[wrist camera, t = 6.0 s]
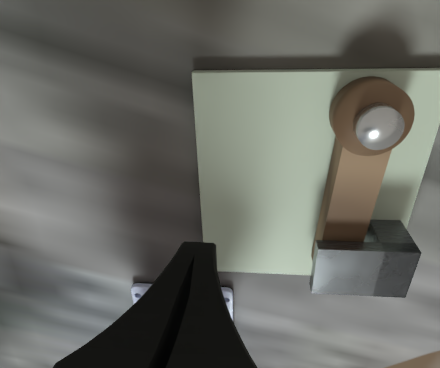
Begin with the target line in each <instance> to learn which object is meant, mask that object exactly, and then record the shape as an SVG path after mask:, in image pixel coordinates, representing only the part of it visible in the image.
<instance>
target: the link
mask: <svg viewBox="0 0 440 368" xmlns="http://www.w3.org/2000/svg"><path fill="white" fill-rule="evenodd" d="M376 102H382V103H386V104H389V105H390V106H392V107H393V108H394V109H395V110H396V111H397V112H399V113H400V114H401V116H402V117H403V119H404V124H405V126H404V131H403V134H402V136H401V137H400V139H399V140H398V141H397V142H396V143H395V144H393V145H392V146H390V147H388V148H386V149H382V150H372V149H368V148H366V147H365V146H363V145H362V144H361V142H360V141H359V139H358V138H357V136H356V135H355V133H354V131H353V122H354V119H355V117H356V115H357V113H358V112H359V111H360V110H361V109H362V108H364V107H365V106H367V105H369V104H372V103H376ZM414 116H415V111H414V105H413V102H412V100H411V99H410V97H409V96H408V94H407V93H405V92H404V91H403V90H402V89H400V88H399V87H397V86H396V85H394V84H393V83H392V82H390V81H388V80H387V79H384V78H381V77H376V76H367V77H362V78H358V79H356V80H354V81H352V82H350V83H348V84H347V85H345V86H344V87H343V88H342V89H341V90H340V91H339V92H338V93H337V95H336V96H335V97H334V99H333V101H332V103H331V106H330V110H329V122H330V125H331V128H332V130H333V132H334V133H335V135H336V138H335V143H334V147H333V152H332V157H331V162H330V167H329V171H328V176H327V181H326V186H325V191H324V195H323V200H322V205H321V210H320V215H319V220H318V224H317V229H316V234H315V239H314V244H313V248H312V253H311V257H312V261H313V256H314V249H315V243H316V240H329V241H358V242H364V240H365V236H366V233H367V230H368V226H369V223H370V220H371V217H372V213H373V210H374V207H375V204H376V200H377V197H378V194H379V190H380V187H381V184H382V181H383V177H384V174H385V171H386V167H387V164H388V161H389V158H390V154H391V151H392V149H393V148H395V147H396V146H397V145H399V144H400V143H401V142H402V141H403V140H404V139H405V138H406V136H407V135H408V133H409V132H410V130H411V128H412V125H413V122H414Z"/></svg>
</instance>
